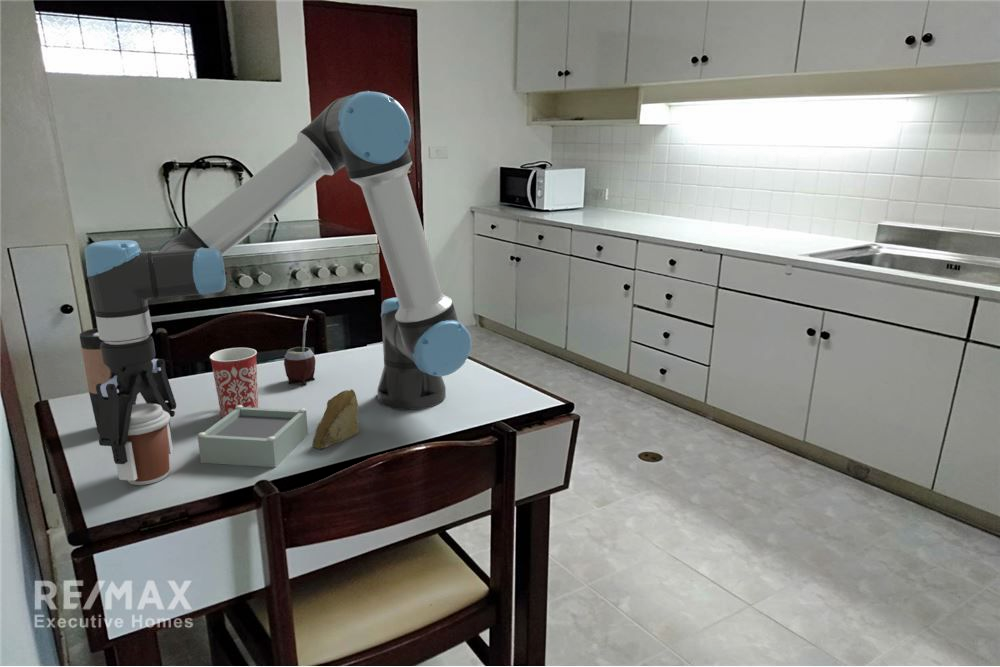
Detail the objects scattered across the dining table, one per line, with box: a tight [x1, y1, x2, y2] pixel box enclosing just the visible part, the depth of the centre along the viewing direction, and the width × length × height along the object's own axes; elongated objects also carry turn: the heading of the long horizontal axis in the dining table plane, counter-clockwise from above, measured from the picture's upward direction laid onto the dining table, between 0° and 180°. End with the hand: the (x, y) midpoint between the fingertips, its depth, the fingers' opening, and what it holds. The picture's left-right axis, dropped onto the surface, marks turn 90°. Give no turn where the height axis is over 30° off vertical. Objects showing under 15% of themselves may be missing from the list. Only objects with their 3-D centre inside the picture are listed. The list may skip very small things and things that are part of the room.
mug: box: [209, 347, 259, 419], centre depth 138 cm, size 13×9×14 cm
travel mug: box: [79, 327, 137, 433], centre depth 129 cm, size 8×8×20 cm
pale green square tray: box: [197, 405, 309, 468], centre depth 122 cm, size 14×14×5 cm
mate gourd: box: [283, 315, 316, 387], centre depth 156 cm, size 8×8×15 cm
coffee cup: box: [119, 402, 172, 486], centre depth 111 cm, size 9×9×12 cm
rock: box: [311, 389, 360, 450], centre depth 126 cm, size 11×9×10 cm
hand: (147, 465), depth 112 cm, fingers closed on coffee cup, 9 cm apart
